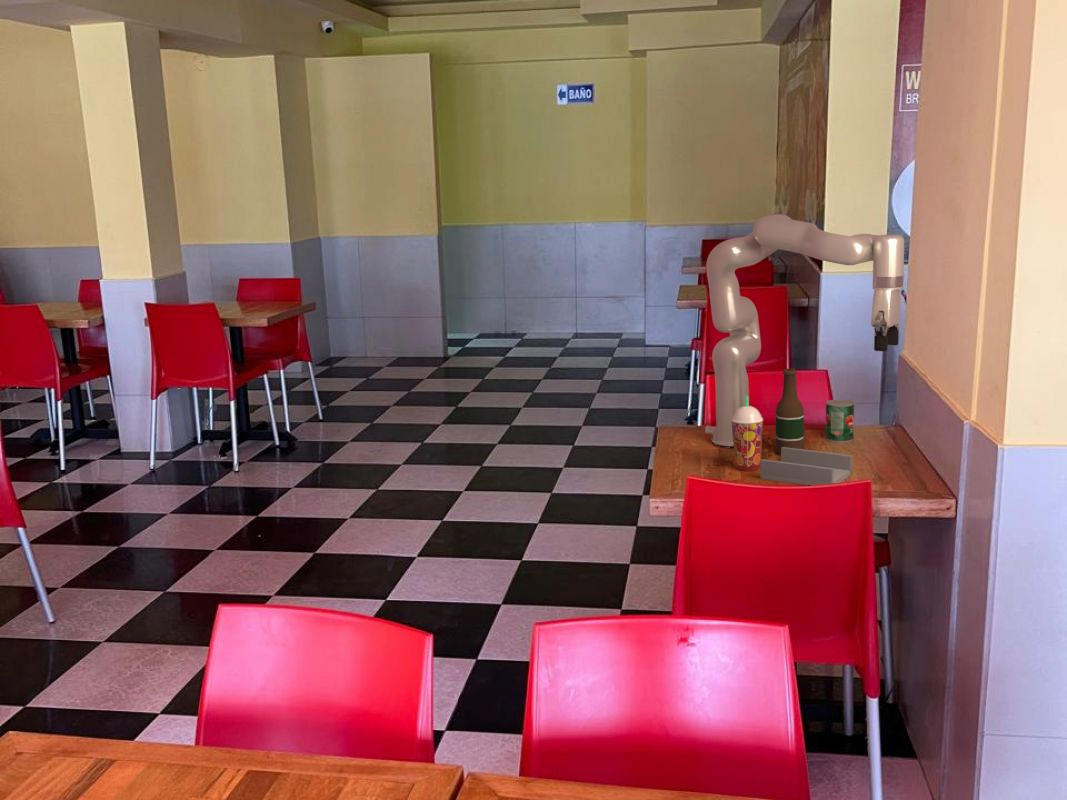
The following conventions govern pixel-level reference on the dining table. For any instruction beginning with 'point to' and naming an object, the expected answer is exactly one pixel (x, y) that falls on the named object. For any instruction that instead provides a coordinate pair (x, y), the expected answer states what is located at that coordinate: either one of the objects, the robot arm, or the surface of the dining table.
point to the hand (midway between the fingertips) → (886, 347)
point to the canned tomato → (839, 420)
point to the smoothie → (747, 437)
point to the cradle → (807, 467)
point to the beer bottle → (789, 415)
